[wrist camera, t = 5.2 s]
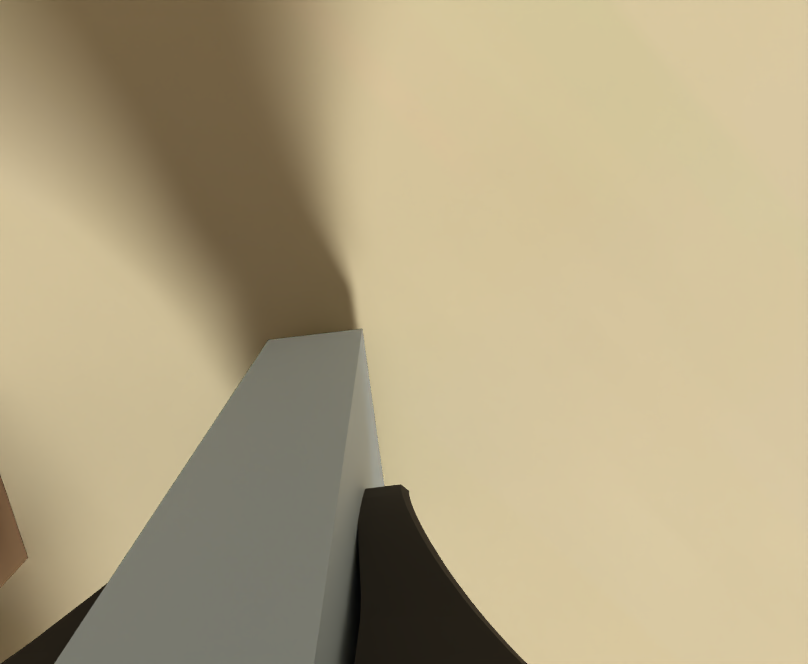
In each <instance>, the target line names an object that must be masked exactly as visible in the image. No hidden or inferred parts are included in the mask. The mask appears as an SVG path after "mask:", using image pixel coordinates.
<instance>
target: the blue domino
mask: <svg viewBox="0 0 808 664" xmlns="http://www.w3.org/2000/svg"><path fill="white" fill-rule="evenodd" d="M375 487H384V480H383V473H382V466H381V459H380V452H379V444H378V437H377V430H376V423H375V416H374V409H373V401H372V394H371V387H370V380H369V373H368V366H367V358H366V351H365V344H364V337H363V330H362V329H356V330H348V331H339V332H330V333H322V334H313V335H305V336H296V337H288V338H279V339H271V340H268V341H267V343H266V344H265V346H264V347H263V349H262V350H261V352H260V353H259V355H258V356H257V358H256V359H255V361H254V362H253V364H252V365H251V367H250V368H249V370H248V371H247V373H246V374H245V376H244V377H243V379H242V380H241V382H240V383H239V385H238V387H237V388H236V390H235V391H234V393H233V394H232V396H231V397H230V399H229V400H228V402H227V403H226V405H225V406H224V408H223V409H222V411H221V412H220V414H219V415H218V417H217V418H216V420H215V421H214V423H213V424H212V426H211V427H210V429H209V430H208V432H207V433H206V435H205V436H204V438H203V439H202V441H201V442H200V444H199V446H198V447H197V449H196V450H195V452H194V453H193V455H192V456H191V458H190V459H189V461H188V462H187V464H186V465H185V467H184V468H183V470H182V471H181V473H180V474H179V476H178V477H177V479H176V480H175V482H174V483H173V485H172V486H171V488H170V489H169V491H168V492H167V494H166V495H165V497H164V498H163V500H162V501H161V503H160V505H159V506H158V508H157V509H156V511H155V512H154V514H153V515H152V517H151V518H150V520H149V521H148V523H147V524H146V526H145V527H144V529H143V530H142V532H141V533H140V535H139V536H138V538H137V539H136V541H135V542H134V544H133V545H132V547H131V548H130V550H129V551H128V553H127V554H126V556H125V557H124V559H123V560H122V562H121V564H120V565H119V567H118V568H117V570H116V571H115V573H114V574H113V576H112V577H111V579H110V580H109V582H108V583H107V585H106V586H105V588H104V589H103V591H102V592H101V594H100V595H99V597H98V598H97V600H96V601H95V603H94V604H93V606H92V607H91V609H90V610H89V612H88V613H87V615H86V616H85V618H84V619H83V621H82V622H81V624H80V626H79V627H78V629H77V630H76V632H75V633H74V635H73V636H72V638H71V639H70V641H69V642H68V644H67V645H66V647H65V648H64V650H63V651H62V653H61V654H60V656H59V657H58V659H57V660H56V662H55V663H54V664H354V663H355V655H356V648H357V640H358V632H359V624H360V611H361V584H360V562H359V540H358V518H359V512H360V507H361V502H362V497H363V494H364V491H365V489H366V488H375Z"/></svg>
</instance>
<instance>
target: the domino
mask: <svg viewBox="0 0 808 664" xmlns="http://www.w3.org/2000/svg"><path fill="white" fill-rule="evenodd" d="M27 558H28V557H27V554H26V551H25V548H24V545H23V542H22V539H21V536H20V533H19V530H18V527H17V524H16V521H15V518H14V515H13V512H12V509H11V506H10V503H9V500H8V497H7V494H6V491H5V488H4V485H3V482H2V479H1V476H0V588H1V587H2V585H3V584H4V583H5V582H6V581H7V580H8V579H9V578H10V577H11V576H12V575H13V574H14V572H15V571H16V570H17V569H18V568H19V567H20V566H21V565H22V564H23V563H24V562H25V560H26V559H27Z"/></svg>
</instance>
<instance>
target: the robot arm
mask: <svg viewBox="0 0 808 664" xmlns="http://www.w3.org/2000/svg"><path fill="white" fill-rule="evenodd" d="M358 540H359V562H360V584H361V611H360V624H359V632H358V640H357V648H356V655H355V663H354V664H527V663H526V662H525V661H524V660H523V659H522V658H521V657H520V656H519V655H518V654H517V653H516V652H515V651H514V650H513V649H512V648H511V647H510V646H509V645H508V644H507V642H506V641H505V640H504V639H503V638H502V637H501V636H500V635H499V634H498V632H497V631H496V630H495V629H494V628H493V627H492V626H491V625H490V624H489V622H488V621H487V620H486V619H485V618H484V616H483V615H482V614H481V613H480V612H479V610H478V609H477V608H476V607H475V605H474V604H473V603H472V602H471V600H470V599H469V598H468V596H467V595H466V594H465V592H464V591H463V590H462V588H461V587H460V586H459V584H458V583H457V582H456V580H455V579H454V578H453V576H452V575H451V573H450V572H449V570H448V569H447V567H446V566H445V564H444V563H443V561H442V560H441V558H440V557H439V555H438V553H437V552H436V550H435V549H434V547H433V545H432V544H431V542H430V541H429V539H428V537H427V535H426V533H425V532H424V530H423V528H422V526H421V524H420V522H419V520H418V518H417V516H416V514H415V511H414V509H413V506H412V504H411V501H410V497H409V490H407V489H406V488H405V487H403V486H402V485H393V486H384V487H375V488H366V489H365V491H364V494H363V497H362V502H361V507H360V512H359V518H358ZM106 585H107V584H106ZM106 585H104V586H103V587H102V588H101V589H100V590H98V591H97V592H96V593H94V594H93V595H92V596H91V597H89V598H88V599H87V600H85V601H84V602H83V603H81V604H80V605H79V606H77V607H76V608H75V609H74V610H72V611H71V612H70V613H68V614H67V615H66V616H64V617H63V618H62V619H61V620H59V621H58V622H57V623H55V624H54V625H53V626H51V627H50V628H49V629H48V630H46V631H45V632H44V633H42V634H41V635H40V636H38V637H37V638H36V639H35V640H33V641H32V642H31V643H29V644H28V645H26V646H25V647H24V648H22V649H21V650H19V651H18V652H17V653H15V654H14V655H12V656H11V657H10V658H8V659H7V660H5V661H4V662H2V663H1V664H54V663H55V662H56V660H57V659H58V657H59V656H60V654H61V653H62V651H63V650H64V648H65V647H66V645H67V644H68V642H69V641H70V639H71V638H72V636H73V635H74V633H75V632H76V630H77V629H78V627H79V626H80V624H81V622H82V621H83V619H84V618H85V616H86V615H87V613H88V612H89V610H90V609H91V607H92V606H93V604H94V603H95V601H96V600H97V598H98V597H99V595H100V594H101V592H102V591H103V589H104V588H105V586H106Z"/></svg>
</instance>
